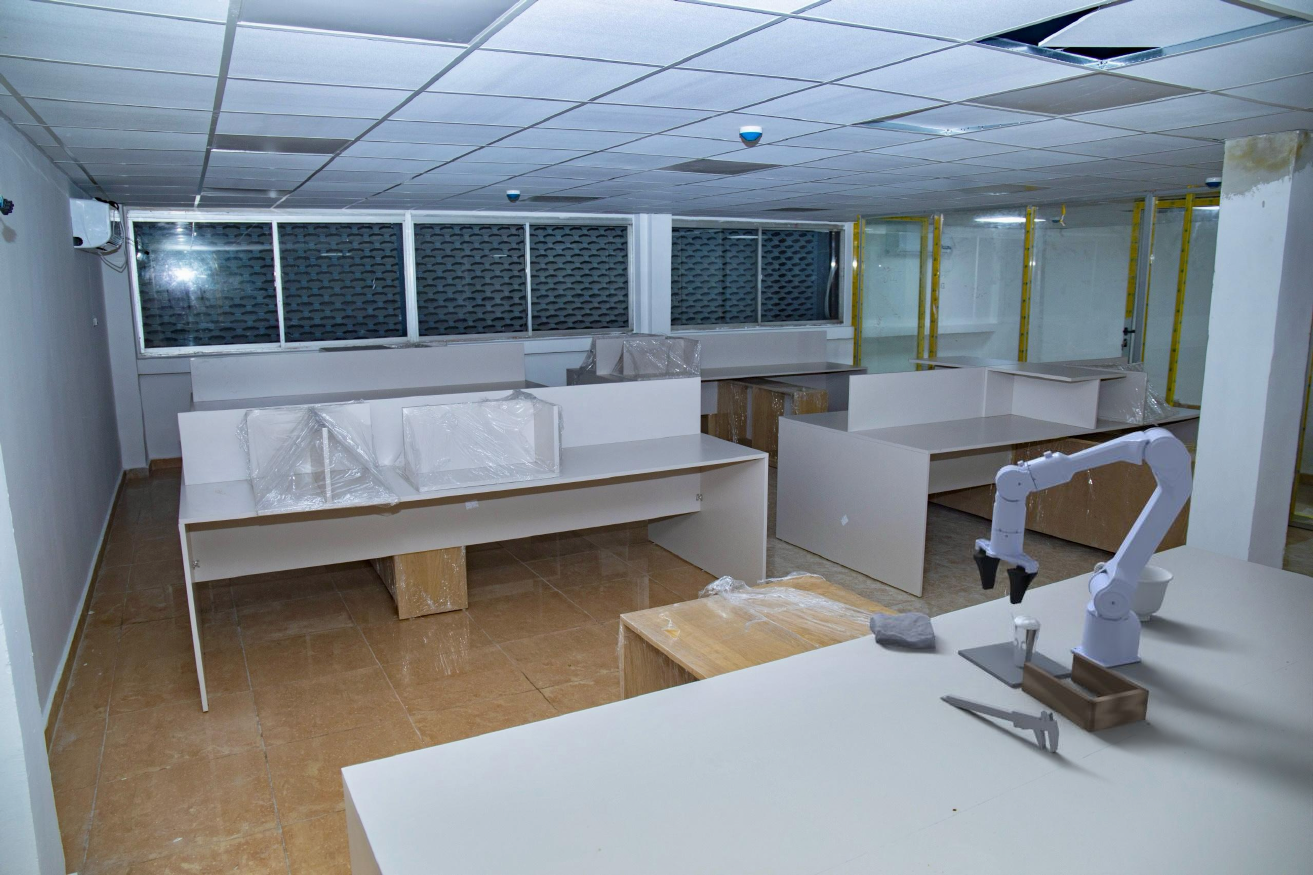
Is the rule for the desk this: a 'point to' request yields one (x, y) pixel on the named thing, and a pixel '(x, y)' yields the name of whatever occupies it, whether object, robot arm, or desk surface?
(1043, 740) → the caliper
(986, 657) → the mat
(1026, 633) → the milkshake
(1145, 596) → the teacup
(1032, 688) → the open box
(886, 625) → the stone block
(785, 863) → the desk surface
